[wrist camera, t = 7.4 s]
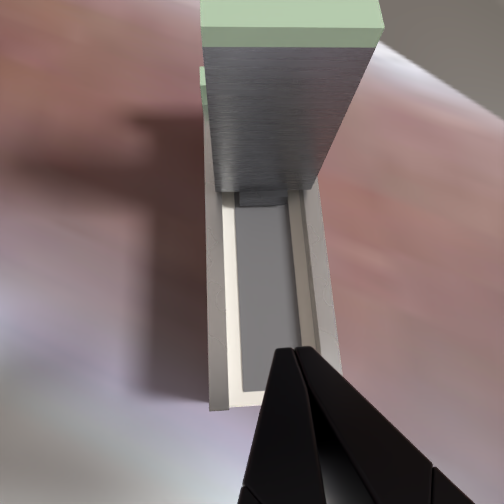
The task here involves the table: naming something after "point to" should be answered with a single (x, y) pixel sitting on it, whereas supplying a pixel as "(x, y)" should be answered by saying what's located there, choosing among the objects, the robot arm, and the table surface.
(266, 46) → the fader tab
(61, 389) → the table surface
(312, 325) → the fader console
